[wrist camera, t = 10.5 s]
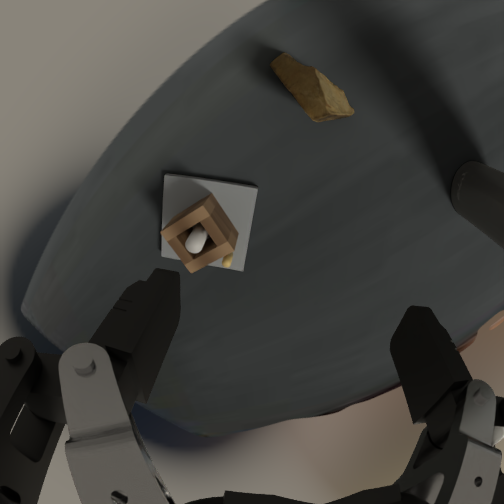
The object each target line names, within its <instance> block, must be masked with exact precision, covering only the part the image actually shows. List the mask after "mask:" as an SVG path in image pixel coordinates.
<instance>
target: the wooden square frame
mask: <svg viewBox="0 0 504 504" xmlns="http://www.w3.org/2000/svg"><path fill="white" fill-rule="evenodd" d="M199 222H201V224H202V225H203V227H204V228H205V230H206V231H207V232H208V234H209V235H210V238H208V239H206V241H205V243H204V245H203V247H202V250H201V251H200V252H198V253H191V252H189V251H188V250H187V249H186V246H185V242H186V240H187V239H188V237H189V235H190V234H191V232H192V231H193V228H192V226H194V225H195V224H197V223H199ZM160 233H161V234H162V236H163V237H164V238H165V240H166V241H167V242H168V244H169V245H170V246H171V248H172V249H173V250H174V252H175V253H176V254H177V256H178V257H179V258H180V259H181V261H182V262H183V263H184V265H185V266H186V267H187V269H188V270H189V271H190V272H191V273H193V272H195V271H197V270H199V269H201V268H203V267H204V266H206V265H208V264H210V263H212V262H214V261H216V260H218V259H220V258H222V257H224V256H226V255H228V254H230V253H232V252H234V251H235V247H236V243H237V239H238V235H239V233H238V231H237V230H236V228H235V227H234V225H233V224H232V222H231V221H230V219H229V218H228V216H227V215H226V213H225V212H224V210H223V209H222V207H221V206H220V204H219V203H218V201H217V200H216V198H215V197H214V195H213V194H212V193H211V194H209V195H207V196H206V197H204V198H202V199H201V200H199V201H198V202H196V203H194V204H193V205H191V206H190V207H188V208H186V209H185V210H183V211H182V212H180V213H179V214H177V215H176V216H174V217H173V218H172V219H171V220H170V221H169V223H168V224H167V225H166V226H165V227H164V228H163V230H162V231H161V232H160Z"/></svg>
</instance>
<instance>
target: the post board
mask: <svg viewBox="0 0 504 504" xmlns="http://www.w3.org/2000/svg"><path fill="white" fill-rule="evenodd" d="M257 191H258V187H256V186H251V185H245V184H239V183H233V182H227V181H220V180H213V179H207V178H200V177H192V176H185V175H177V174H169V173H167V174H165V176H164V191H163V212H162V230H163V228H164V227H165V226H166V225H167V224H168V223H169V221H170V220H171V219H172V218H173V217H174V216H176V215H177V214H179V213H180V212H182V211H183V210H185V209H186V208H188V207H190V206H191V205H193V204H194V203H196V202H198V201H199V200H201V199H202V198H204V197H206V196H207V195H209V194H211V193H212V194H213V195H214V197H215V198H216V200H217V201H218V203H219V204H220V206H221V207H222V209H223V210H224V212H225V213H226V215H227V216H228V218H229V219H230V221H231V222H232V224H233V225H234V227H235V228H236V230H237V231H238V233H239V235H238V239H237V243H236V247H235V251H234V252H232V253H230V254H228V255H226V256H224V257H222V258H220V259H218V260H216V261H214V262H212V263H210V264H208V265H211V266H217V267H222V268H228V269H233V270H239V271H243V269H244V263H245V257H246V252H247V246H248V241H249V235H250V229H251V224H252V218H253V213H254V207H255V202H256V196H257ZM192 228H193V231H192V232H191V234H190V235H189V237H188V239H187V240H186V242H185V246H186V249H187V250H188V251H189V252H191V253H198V252H200V251H201V250H202V247H203V245H204V243H205V241H206V239H208V238H210V235H209V234H208V232H207V231H206V230H205V228H204V227H203V225H202V224H201V222H199V223H197V224H195V225H194V226H192ZM162 256H163V257H168V258H173V259H178V260H181V259H180V258H179V257H178V256H177V254H176V253H175V252H174V250H173V249H172V248H171V246H170V245H169V244H168V242H167V241H166V240H165V238H164V237H163V236H162Z"/></svg>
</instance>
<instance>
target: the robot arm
mask: <svg viewBox="0 0 504 504" xmlns="http://www.w3.org/2000/svg"><path fill="white" fill-rule="evenodd" d="M451 200H452V204H453V206H454V209H455V210H456V212H457V213H458V214H459V215H461V216H462V217H463V218H465V219H466V220H468V221H469V222H470V223H472V224H473V225H474V226H475V227H477V228H478V229H479V230H481V231H482V232H483V233H484V234H486V235H487V236H488V237H489V238H491V239H492V240H493V241H494V242H496V243H497V244H498V245H499V246H500V247H502V248H503V249H504V173H503V172H501V171H499V170H496V169H494V168H492V167H489V166H487V165H484V164H482V163H479V162H476V161H469V162H466V163H465V164H463V165H462V166H461V167H460V168H459V169H458V171H457V172H456V174H455V176H454V179H453V182H452V187H451ZM180 310H181V306H180V275H179V272H176V271H170V270H165V269H159V268H156V269H155V270H154V271H153V273H152V274H151V275H150V277H149V278H148V280H147V281H141V280H139V281H137V282H135V283H134V284H132V285H131V286H129V287H127V288H126V290H125V291H124V292H123V294H122V295H121V297H120V298H119V300H118V301H117V302H116V303H115V305H114V306H113V309H111V310H110V312H109V313H108V315H107V316H106V317H105V319H104V320H103V322H102V323H101V325H100V326H99V328H98V329H97V330H96V332H95V333H94V335H93V336H92V338H91V339H90V341H89V342H88V343H80V344H76V345H74V346H72V347H70V348H69V349H67V350H66V351H65V352H64V353H63V355H57V354H46V353H37V352H36V350H35V348H34V346H33V344H32V343H31V341H29V340H28V339H26V338H24V337H13V338H10V339H8V340H6V341H5V342H4V343H2V344H1V346H0V504H37V502H38V499H39V495H40V492H41V489H42V485H43V482H44V479H45V476H46V473H47V470H48V467H49V464H50V462H51V459H52V456H53V453H54V451H55V448H56V446H57V443H58V440H59V438H60V435H61V433H62V430H63V428H64V426H65V424H67V425H68V429H69V434H70V439H69V440H68V441H66V443H65V452H66V457H67V461H68V464H69V468H70V471H71V475H72V477H73V481H74V484H75V487H76V489H77V492H78V495H79V498H80V500H81V503H82V504H176V503H175V502H174V500H173V498H172V497H171V495H170V493H169V491H168V489H167V488H166V486H165V484H164V482H163V480H162V479H161V477H160V475H159V473H158V471H157V470H156V468H155V466H154V464H153V462H152V460H151V458H150V456H149V454H148V451H147V449H146V447H145V445H144V443H143V440H142V438H141V436H140V433H139V431H138V429H137V426H136V424H135V421H134V418H133V416H132V414H131V410H132V408H133V405H134V403H135V401H139V402H142V403H145V404H147V401H148V399H149V396H150V393H151V391H152V388H153V386H154V383H155V380H156V378H157V375H158V373H159V370H160V368H161V365H162V363H163V360H164V358H165V355H166V353H167V350H168V348H169V346H170V343H171V341H172V338H173V336H174V334H175V331H176V329H177V326H178V323H179V319H180ZM390 352H391V355H392V358H393V361H394V364H395V367H396V370H397V373H398V376H399V379H400V382H401V385H402V388H403V391H404V394H405V397H406V400H407V404H408V407H409V411H410V414H411V418H412V421H413V424H420V423H426V424H427V427H425V428H424V429H423V431H422V433H421V435H420V438H419V440H418V442H417V445H416V447H415V450H414V452H413V454H412V456H411V458H410V461H409V463H408V465H407V467H406V469H405V471H404V473H403V474H402V475H401V476H400V478H399V479H398V480H396V482H394V484H393V485H390V486H385V487H380V488H374V489H368V490H363V491H360V492H358V493H355V494H352V495H350V496H347V497H344V498H341V499H338V500H336V501H332V502H329V503H326V504H504V474H503V473H502V471H501V468H500V465H501V459H502V453H501V451H500V450H499V449H497V448H495V444H497V443H498V442H499V441H500V440H502V439H503V438H504V398H503V397H498V396H495V394H494V392H493V390H492V389H491V387H490V386H489V385H488V384H487V383H485V382H484V381H482V380H477V379H475V380H473V379H472V377H471V375H470V373H469V371H468V369H467V367H466V365H465V363H464V361H463V360H462V357H461V356H460V354H459V352H458V351H457V348H456V346H455V344H454V343H452V339H451V337H450V336H449V334H448V332H447V330H446V329H445V328H444V327H443V326H442V325H441V324H440V323H439V321H438V320H437V318H436V316H435V315H434V313H433V312H432V310H431V309H430V308H429V307H422V306H410V307H409V308H408V309H407V311H406V312H405V314H404V316H403V318H402V320H401V322H400V324H399V326H398V327H397V329H396V331H395V333H394V334H393V336H392V339H391V342H390ZM23 404H25V405H24V407H23V409H22V411H21V413H20V415H19V417H18V419H17V421H16V424H15V426H14V428H13V430H12V432H11V429H12V427H13V425H14V423H15V420H16V418H17V416H18V414H19V412H20V410H21V408H22V406H23ZM10 432H11V434H10ZM185 504H313V503H307V502H302V501H297V500H293V499H288V498H284V497H280V496H276V495H265V494H252V493H242V492H233V491H225V493H224V496H223V497H211V498H205V499H199V500H196V501H191V502H188V503H185Z"/></svg>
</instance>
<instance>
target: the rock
mask: <svg viewBox="0 0 504 504" xmlns="http://www.w3.org/2000/svg"><path fill="white" fill-rule="evenodd" d="M270 67H271V68H272V69H273V71H274V72H275V73H276V75H277V76H278V77H279V78H280V80H281V82H282V83H283V84H284V85H285V86H286V88H287V89H288V90H289V91H290V92H291V93H292V95H293V96H294V97H295V98H296V100H297V101H298V103H299V104H300V106H301V107H302V108H303V109H304V111H305V112H306V113H307V115H308V116H309V117H310V118H311V119H312V120H313V121H316V122H322V121H326V120H335V119H341V118H346V117H349V116H350V115H352V114H353V113H354V109H353V108H352V107H350V105H349V104H348V101H347V98H346V96H345V94H344V91H343V90H341V89H340V88H338V87H337V86H336V85H334V84H333V83H332V82H331V81H329V80H328V79H327V77H326V76H324V75H323V74H322V73H320V72H319V71H318V70H317V69H316V68H314V67H312V66H310V67H308V66H303V65H302V64H300V63H298V62H296V60H295V59H294V58H292V57H291V56H290V55H289V54H287V53H285V52H284V53H282V54H281V55H280V56H278V57H277V58H276V59H274V60H273V61H272V62H271V63H270Z"/></svg>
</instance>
